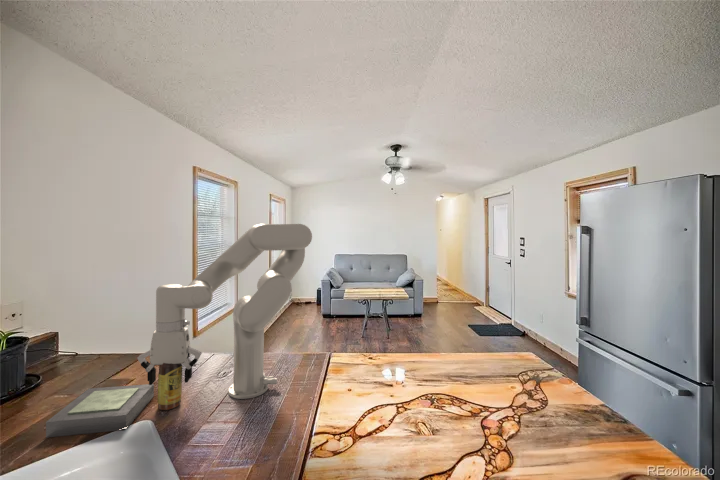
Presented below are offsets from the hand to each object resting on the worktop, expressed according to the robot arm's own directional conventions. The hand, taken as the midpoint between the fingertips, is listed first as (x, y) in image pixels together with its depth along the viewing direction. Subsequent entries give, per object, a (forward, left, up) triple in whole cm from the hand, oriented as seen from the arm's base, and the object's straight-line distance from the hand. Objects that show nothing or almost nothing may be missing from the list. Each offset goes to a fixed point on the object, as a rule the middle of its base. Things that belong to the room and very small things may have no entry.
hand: (170, 381), depth 98 cm
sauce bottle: (0, 0, -7) cm, 7 cm away
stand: (+16, +2, -7) cm, 18 cm away
